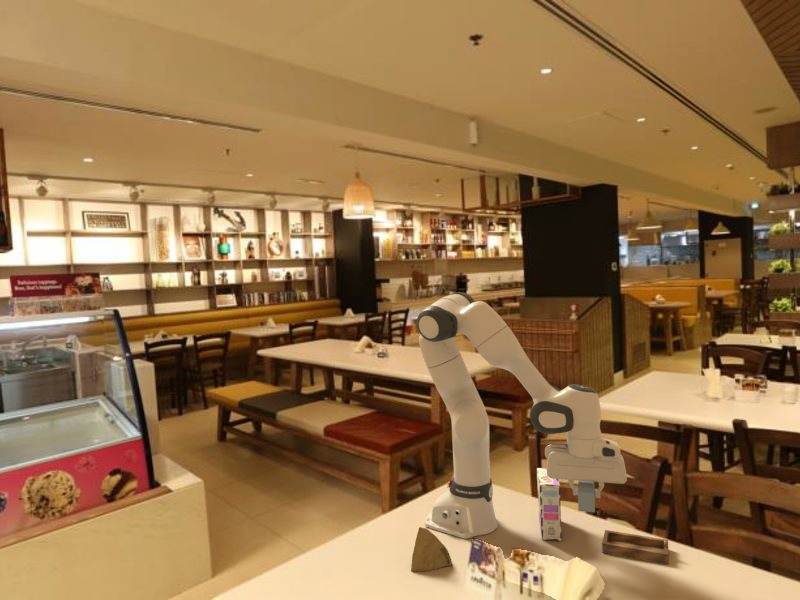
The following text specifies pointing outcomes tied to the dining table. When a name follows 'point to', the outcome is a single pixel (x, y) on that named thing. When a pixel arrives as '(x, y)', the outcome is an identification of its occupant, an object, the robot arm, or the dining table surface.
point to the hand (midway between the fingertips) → (586, 496)
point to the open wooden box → (635, 546)
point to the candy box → (549, 506)
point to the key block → (586, 496)
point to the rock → (429, 552)
